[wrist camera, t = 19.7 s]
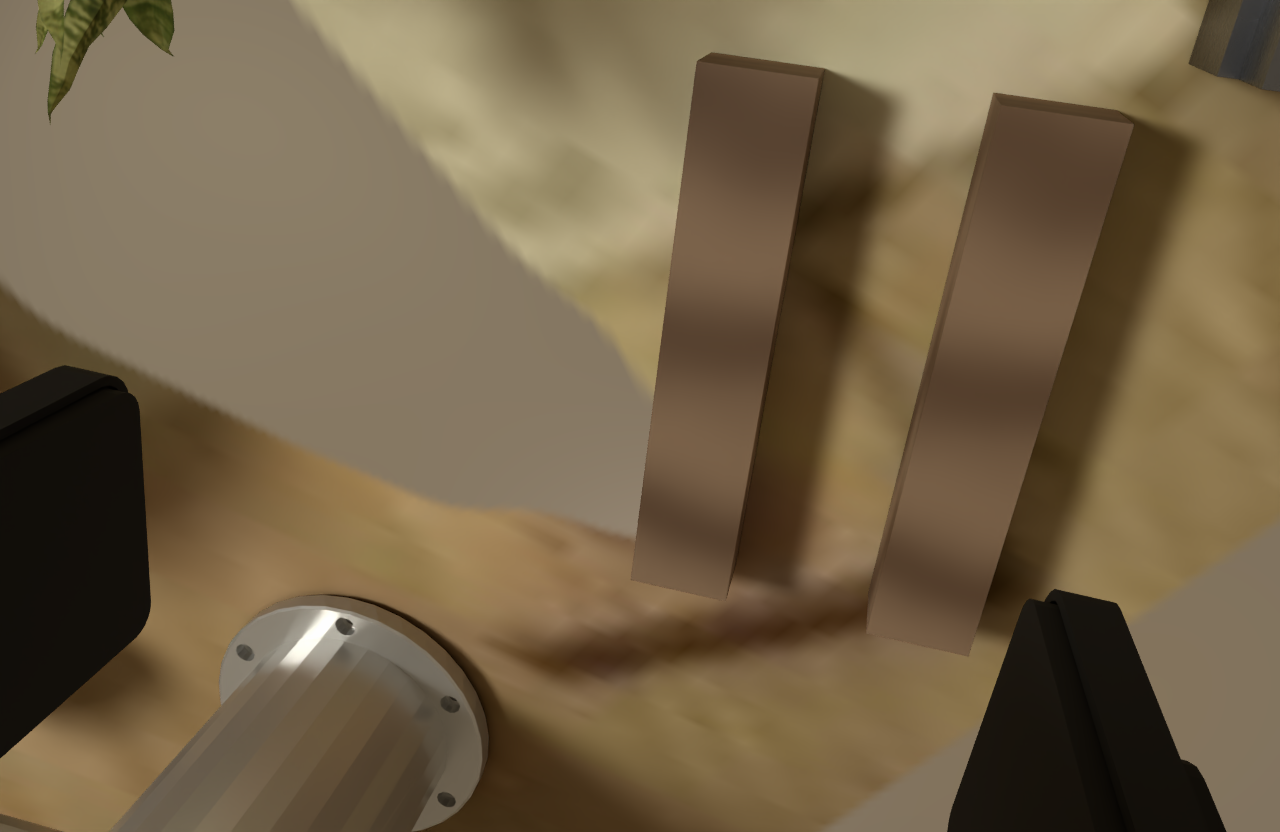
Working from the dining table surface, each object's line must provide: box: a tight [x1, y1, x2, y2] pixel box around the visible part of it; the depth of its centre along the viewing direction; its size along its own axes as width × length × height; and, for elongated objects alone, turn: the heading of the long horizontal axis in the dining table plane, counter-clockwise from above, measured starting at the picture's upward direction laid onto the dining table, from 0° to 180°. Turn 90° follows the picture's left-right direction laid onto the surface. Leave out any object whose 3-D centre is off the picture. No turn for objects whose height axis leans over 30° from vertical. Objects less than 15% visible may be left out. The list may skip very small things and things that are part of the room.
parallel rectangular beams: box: [631, 53, 1134, 656], centre depth 34 cm, size 18×12×3 cm, turn 173°
